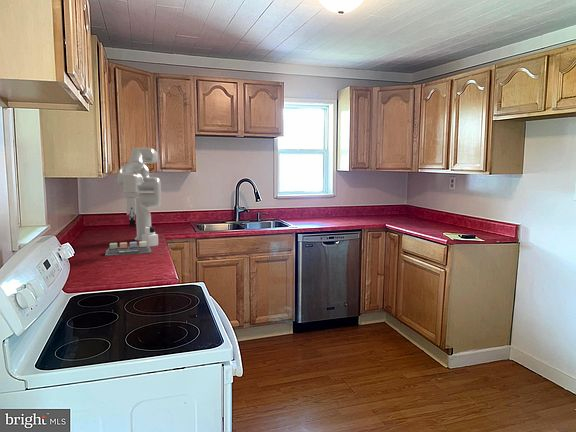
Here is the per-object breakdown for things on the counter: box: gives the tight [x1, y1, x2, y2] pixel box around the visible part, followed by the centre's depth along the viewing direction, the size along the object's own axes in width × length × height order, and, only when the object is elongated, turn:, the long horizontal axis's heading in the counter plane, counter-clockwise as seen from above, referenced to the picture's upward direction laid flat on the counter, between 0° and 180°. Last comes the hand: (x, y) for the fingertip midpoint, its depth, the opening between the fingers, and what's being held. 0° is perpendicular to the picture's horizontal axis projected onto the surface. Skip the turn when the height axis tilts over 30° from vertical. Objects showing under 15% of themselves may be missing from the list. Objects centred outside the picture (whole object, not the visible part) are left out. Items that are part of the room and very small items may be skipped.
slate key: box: [129, 241, 138, 248], centre depth 247 cm, size 4×4×2 cm
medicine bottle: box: [142, 226, 159, 248], centre depth 264 cm, size 7×7×12 cm
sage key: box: [109, 242, 118, 249], centre depth 243 cm, size 4×4×2 cm
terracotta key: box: [119, 241, 128, 248], centre depth 245 cm, size 4×4×2 cm
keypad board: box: [104, 245, 153, 257], centre depth 246 cm, size 14×25×2 cm, turn 111°
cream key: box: [138, 241, 147, 247], centre depth 249 cm, size 4×4×2 cm
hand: (132, 225), depth 245 cm, fingers open, 4 cm apart
